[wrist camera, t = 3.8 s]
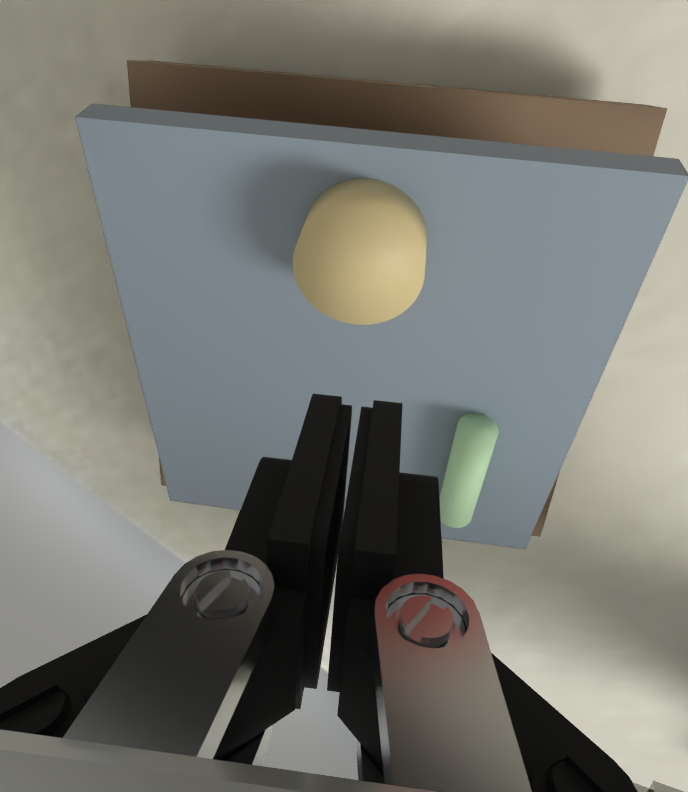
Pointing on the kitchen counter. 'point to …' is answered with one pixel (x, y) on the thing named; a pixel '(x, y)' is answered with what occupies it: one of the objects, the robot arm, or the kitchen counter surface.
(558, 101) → the wooden board
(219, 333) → the plate
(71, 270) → the kitchen counter surface
